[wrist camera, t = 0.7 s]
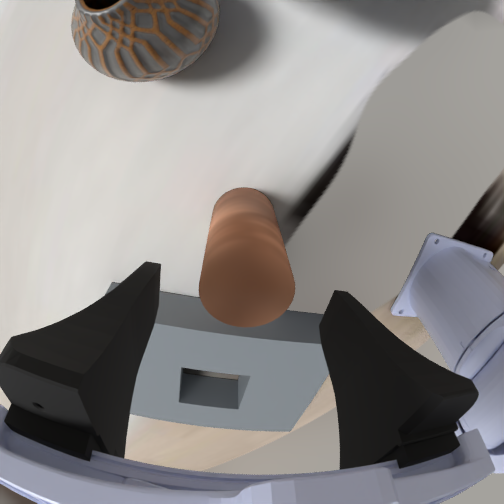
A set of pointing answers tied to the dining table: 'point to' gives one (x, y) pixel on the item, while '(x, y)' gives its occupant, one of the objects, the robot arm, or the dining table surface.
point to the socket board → (228, 368)
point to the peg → (245, 262)
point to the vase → (143, 35)
